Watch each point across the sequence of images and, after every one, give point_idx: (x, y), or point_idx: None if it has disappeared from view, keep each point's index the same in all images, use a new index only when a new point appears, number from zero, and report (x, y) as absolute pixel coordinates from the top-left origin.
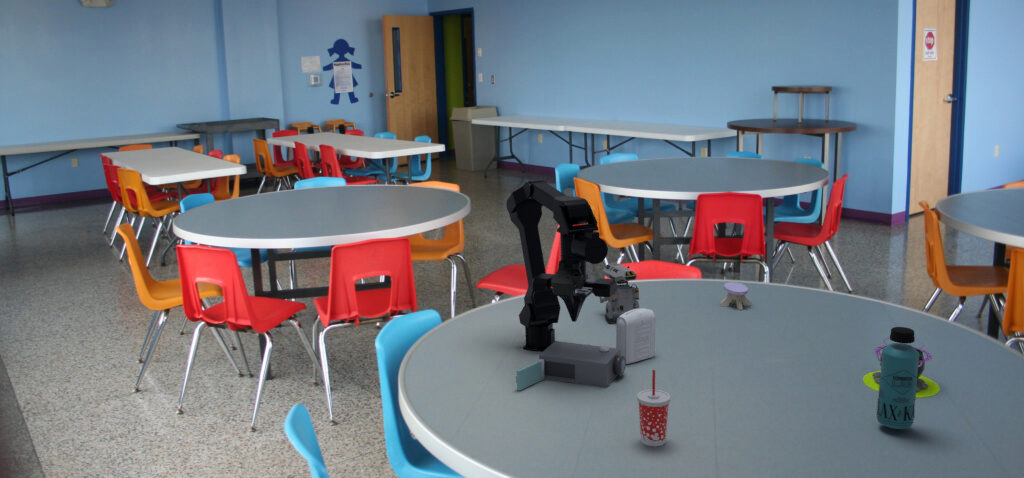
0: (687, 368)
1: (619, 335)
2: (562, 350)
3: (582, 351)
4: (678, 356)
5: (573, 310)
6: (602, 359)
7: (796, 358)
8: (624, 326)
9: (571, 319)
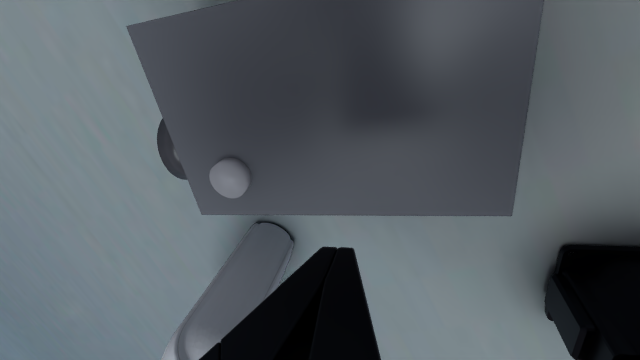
0: (141, 244)
1: (237, 294)
2: (414, 98)
3: (309, 130)
4: (196, 297)
5: (290, 330)
6: (176, 72)
7: (62, 322)
8: (193, 325)
9: (352, 255)
